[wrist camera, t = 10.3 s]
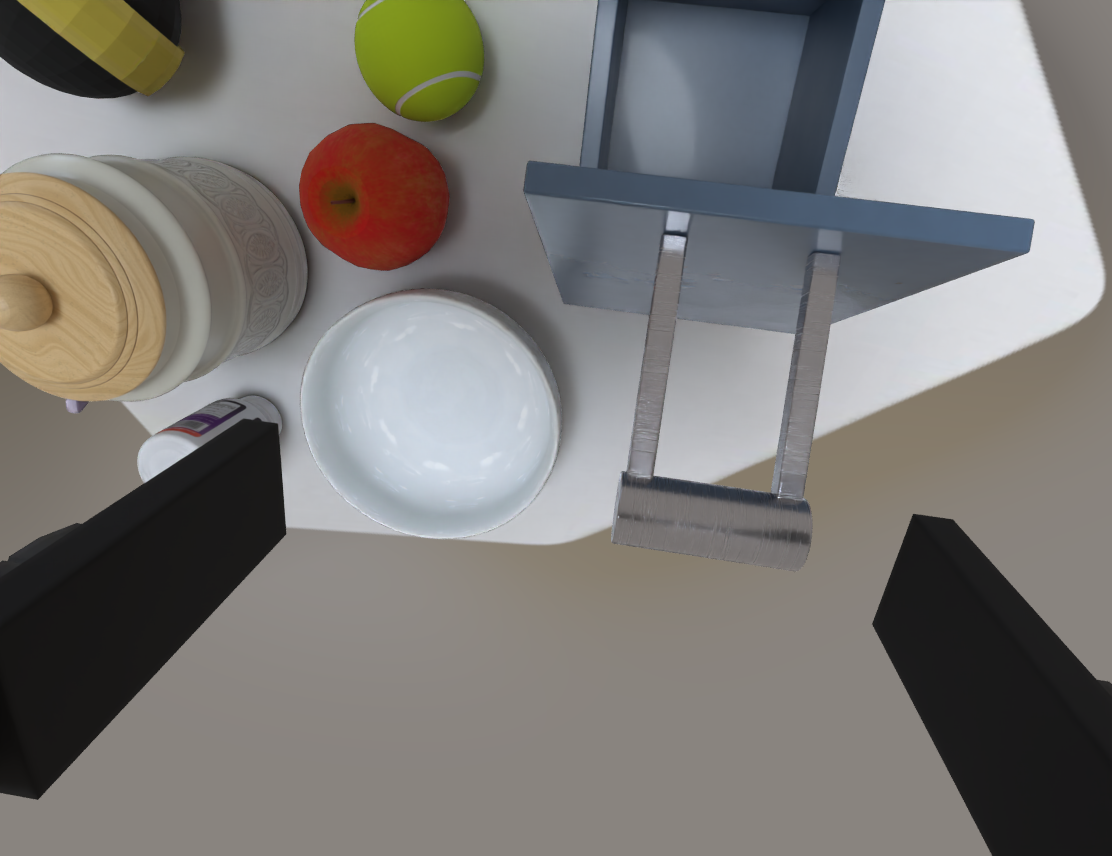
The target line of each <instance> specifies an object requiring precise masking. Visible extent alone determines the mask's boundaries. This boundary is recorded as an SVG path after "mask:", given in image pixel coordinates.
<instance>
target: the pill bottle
mask: <svg viewBox="0 0 1112 856" xmlns="http://www.w3.org/2000/svg"><path fill="white" fill-rule="evenodd" d="M243 418H244V419H251V420H258V421H265V422H272V423H278V428H279V435H280V433H281V430H282V419H281V416H280V413H279V411H278V410H277V408H276V407H275V406H274V405H273V404H272V403H271V402H270V401H268V400H266V399H265V398H262V397H259V396H245V397H243V398H241V399H234V398H226V399H221V400H217V401H215V402H213V403H211V404H209V405H207V406H205V407H204V408H202V409H200V410H198V411H196V412H195V413H193V414H191V415H189V416H187V417H185V418H184V419H182V420H180V421H178V422H176V423H175V424H173V425H171V426H169V427H167V428H165V429H164V430H162V431H160V432H158V433H157V434H155V435H154V436H152V437H151V438H149V439H148V440H147V441H145V443H144V444H143V445H142V447H141V448H140V451H139V453H138V458H137V464H138V470H139V473H140V476H141V478H142V480H143V482H144V483H146V482H147V481H149V480H150V479H152V478H153V477H155V476H156V475H158V474H159V473H161V472H162V471H164V470H165V469H167V468H168V467H170V466H172V465H173V464H175V463H176V462H178V461H179V460H181V459H182V458H184V457H185V456H187V455H188V454H190V453H191V452H193V451H194V450H196V449H198V448H199V447H201V446H202V445H204V444H205V443H207V442H208V441H210V440H211V439H213V438H214V437H216V436H217V435H219V434H220V433H222V432H223V431H225V430H227V429H228V428H230V427H231V426H233V425H234V424H236V423H237V422H239V421H240V420H242V419H243Z"/></svg>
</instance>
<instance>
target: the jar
mask: <svg viewBox="0 0 1112 856" xmlns="http://www.w3.org/2000/svg"><path fill="white" fill-rule="evenodd" d="M307 278H308V269H307V260H306V254H305V249H304V246H303V242H302V239H301V237H300V234H299V232H298V229H297V227H296V225H295V223H294V221H293V219H292V218H291V216H290V215H289V213H288V211H287V210H286V209H285V207H284V206H283V205H282V203H281V202H280V201H279V200H278V199H277V198H276V196H275V195H274V194H273V193H272V192H271V191H270V190H268V189H267V188H266V187H265V186H264V185H263V184H261V183H260V182H259V181H257V180H256V179H254V178H253V177H251V176H250V175H248V174H246V173H244V172H242V171H240V170H238V169H235V168H233V167H230V166H228V165H225V164H223V163H220V162H217V161H213V160H209V159H204V158H195V157H172V158H166V159H161V160H154V159H136V158H132V157H126V156H120V155H99V156H92V157H84V156H79V155H73V154H62V153H57V154H44V155H39V156H34V157H31V158H28V159H25V160H23V161H21V162H19V163H17V164H15V165H13V166H12V167H10V168H8V169H7V170H6V171H5V172H3V173H2V174H1V175H0V362H1V363H2V364H3V365H4V366H5V367H7V368H8V369H9V370H10V371H12V372H13V373H14V374H15V375H17V376H18V377H20V378H21V379H23V380H24V381H26V382H28V383H29V384H31V385H33V386H35V387H36V388H39V389H41V390H43V391H45V392H48V393H50V394H53V395H56V396H59V397H63V398H66V399H71V400H77V401H103V400H113V401H141V400H147V399H152V398H155V397H158V396H161V395H163V394H165V393H168V392H169V391H171V390H173V389H175V388H176V387H177V386H179V385H180V384H181V383H183V382H186V381H190V380H194V379H197V378H199V377H201V376H204V375H206V374H207V373H209V372H211V371H212V370H214V369H215V368H217V367H218V366H219V365H220V364H221V363H223V362H225V361H228V360H230V359H232V358H234V357H236V356H240V355H244V354H248V353H251V352H253V351H255V350H258V349H259V348H261V347H264V346H265V345H267V344H269V343H270V342H272V341H273V340H275V339H276V338H277V337H278V336H279V335H280V334H281V333H282V332H283V331H284V330H285V329H286V328H287V327H288V326H289V325H290V323H291V322H292V321H293V320H294V318H295V317H296V315H297V314H298V312H299V310H300V308H301V305H302V303H303V300H304V297H305V293H306V287H307Z"/></svg>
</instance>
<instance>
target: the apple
mask: <svg viewBox="0 0 1112 856" xmlns="http://www.w3.org/2000/svg"><path fill="white" fill-rule="evenodd" d="M299 192H300V205H301V208H302V212H303V215H304V218H305V221H306V223H307V225H308V228H309V229H310V231H311V232H312V234H313V235H314V236H315V237H316V238H317V239H318V240H319V242H320V243H321V244H322V245H323V246H325V247H326V248H328V249H329V250H331V251H332V252H333V253H335V254H336V255H338V256H339V257H341V258H342V259H344V260H346V261H348V262H350V263H352V264H354V265H356V266H358V267H363V268H368V269H373V270H381V271H390V270H393V269H396V268H400V267H403V266H407V265H409V264H410V263H412V262H414V261H416V260H418V259H419V258H420V257H422V256H423V255H424V254H426V253H427V252H428V251H429V250H430V249H431V248H432V247H433V245H434V244H435V243H436V241H437V240H438V239H439V237H440V235H441V233H442V231H443V229H444V226H445V223H446V219H447V215H448V207H449V199H450V195H449V190H448V185H447V180H446V175H445V173H444V171H443V169H442V167H441V165H440V163H439V161H438V160H437V159H436V158H435V156H434V155H433V154H432V153H431V152H430V151H429V149H428V148H426V147H425V146H423V145H422V144H420V143H418V142H416V141H414V140H412V139H410V138H408V137H406V136H405V135H403V134H401V133H399V132H397V131H395V130H393V129H391V128H388V127H385V126H382V125H379V124H376V123H361V124H350V125H347V126H345V127H343V128H341V129H339V130H337V131H335V132H333V133H331V134H329V135H328V136H327V137H325V138H324V139H323V140H322V141H321V142H320V143H319V144H318V145H317V146H316V147H315V148H314V149H313V150H312V151H311V152H310V153H309V155H308V158H307V160H306V162H305V164H304V167H303V169H302V172H301V178H300V183H299Z"/></svg>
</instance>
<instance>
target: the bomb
mask: <svg viewBox="0 0 1112 856" xmlns="http://www.w3.org/2000/svg"><path fill="white" fill-rule="evenodd" d="M180 34H181V10H180V1H179V0H0V57H1V58H2V59H4V60H5V61H6V62H7V63H9V64H10V65H11V66H13V67H14V68H16V69H17V70H19V71H20V72H22V73H23V74H25V75H27V76H29V77H30V78H32V79H34V80H36V81H38V82H39V83H41V84H43V85H46V86H48V87H51V88H53V89H56V90H59V91H62V92H65V93H69V94H73V95H77V96H81V97H89V98H98V99H99V98H117V97H122V96H127V95H130V94H133V93H135V92H139V93H142V94H144V95H146V96H150V95H151V94H153V93H154V92H156V91H158V90H159V89H161V88H162V87H163V86H164V85H165V84H166V83H167V82H168V81H169V80H170V79H171V78H172V76H173V75H174V73H175V72H176V70H177V69H178V67H179V66H180V63H181V61H182V59H183V56H184V54H185V52H184V50H183V49H182V48H181V47H180V46H179V45H178V43H179V39H180Z"/></svg>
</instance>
